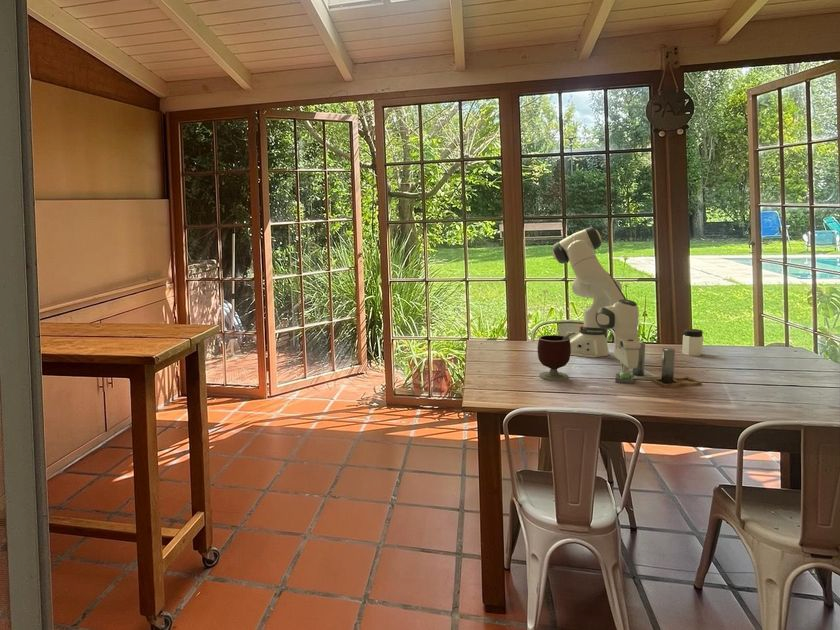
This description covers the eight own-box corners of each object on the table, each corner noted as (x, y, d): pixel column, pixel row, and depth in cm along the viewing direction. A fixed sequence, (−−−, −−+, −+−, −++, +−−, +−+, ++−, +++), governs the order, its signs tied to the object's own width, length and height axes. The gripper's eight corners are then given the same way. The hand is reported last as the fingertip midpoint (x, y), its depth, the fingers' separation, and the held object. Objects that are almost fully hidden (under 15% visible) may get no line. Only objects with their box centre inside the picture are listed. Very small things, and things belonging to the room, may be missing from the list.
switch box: (615, 385, 216) (615, 378, 215) (615, 380, 222) (616, 373, 222) (633, 386, 213) (633, 379, 213) (634, 382, 219) (634, 374, 219)
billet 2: (661, 384, 211) (662, 350, 208) (660, 381, 215) (662, 347, 212) (673, 385, 209) (675, 350, 207) (672, 382, 213) (674, 348, 211)
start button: (619, 383, 216) (619, 374, 216) (619, 380, 220) (620, 371, 219) (629, 384, 215) (630, 375, 214) (630, 381, 219) (630, 372, 218)
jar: (686, 351, 269) (688, 327, 267) (704, 353, 263) (705, 329, 261) (679, 354, 263) (681, 330, 261) (697, 357, 257) (698, 332, 255)
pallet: (663, 390, 207) (663, 385, 207) (650, 384, 216) (650, 378, 216) (701, 387, 209) (701, 382, 209) (687, 381, 218) (687, 376, 218)
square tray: (632, 381, 220) (632, 378, 220) (619, 374, 231) (619, 371, 231) (657, 379, 221) (657, 376, 221) (643, 372, 232) (643, 369, 232)
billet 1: (632, 376, 225) (633, 344, 223) (632, 374, 229) (634, 342, 227) (643, 377, 223) (645, 344, 221) (643, 374, 227) (645, 342, 225)
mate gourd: (534, 379, 227) (535, 333, 223) (539, 371, 239) (540, 327, 236) (572, 382, 221) (573, 335, 218) (575, 373, 234) (576, 329, 231)
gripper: (611, 335, 225) (610, 366, 227) (625, 345, 205) (624, 380, 207) (626, 334, 225) (625, 366, 227) (642, 345, 204) (640, 380, 207)
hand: (624, 373), depth 217 cm, fingers closed, pressing on start button
